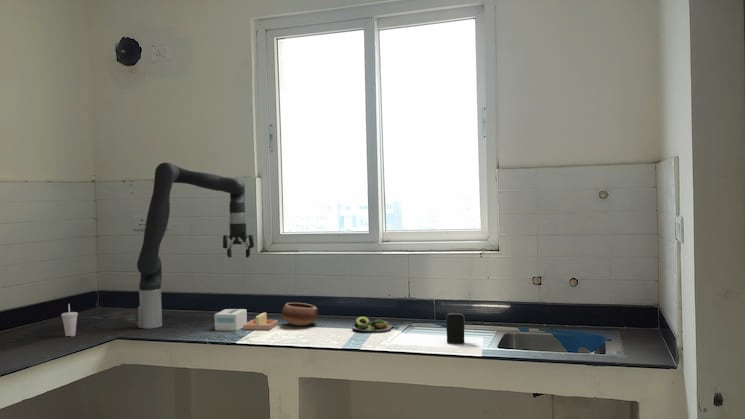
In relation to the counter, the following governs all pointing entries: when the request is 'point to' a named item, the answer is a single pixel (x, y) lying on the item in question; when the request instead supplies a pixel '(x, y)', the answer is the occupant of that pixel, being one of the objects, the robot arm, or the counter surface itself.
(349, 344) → the counter surface
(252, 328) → the dish
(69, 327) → the smoothie
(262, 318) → the pale yellow flat piece
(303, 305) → the bowl
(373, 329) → the salad plate
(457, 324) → the battery
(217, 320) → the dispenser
